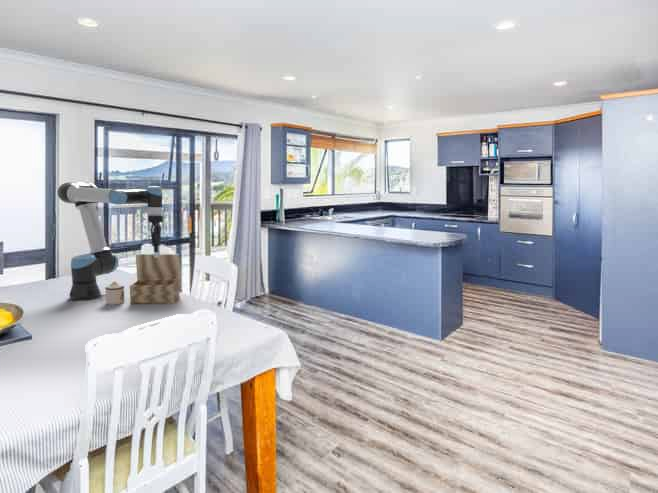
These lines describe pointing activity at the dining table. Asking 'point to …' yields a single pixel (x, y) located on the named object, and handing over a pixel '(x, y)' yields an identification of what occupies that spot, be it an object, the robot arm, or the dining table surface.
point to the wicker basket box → (154, 291)
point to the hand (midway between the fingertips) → (157, 257)
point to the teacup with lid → (114, 293)
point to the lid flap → (158, 267)
